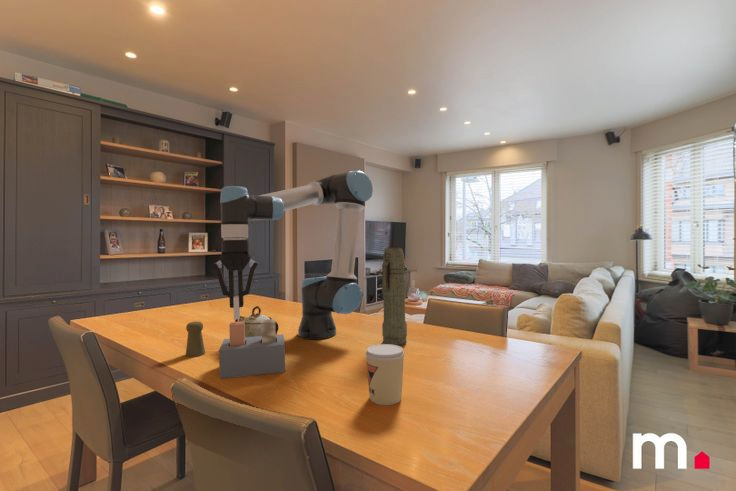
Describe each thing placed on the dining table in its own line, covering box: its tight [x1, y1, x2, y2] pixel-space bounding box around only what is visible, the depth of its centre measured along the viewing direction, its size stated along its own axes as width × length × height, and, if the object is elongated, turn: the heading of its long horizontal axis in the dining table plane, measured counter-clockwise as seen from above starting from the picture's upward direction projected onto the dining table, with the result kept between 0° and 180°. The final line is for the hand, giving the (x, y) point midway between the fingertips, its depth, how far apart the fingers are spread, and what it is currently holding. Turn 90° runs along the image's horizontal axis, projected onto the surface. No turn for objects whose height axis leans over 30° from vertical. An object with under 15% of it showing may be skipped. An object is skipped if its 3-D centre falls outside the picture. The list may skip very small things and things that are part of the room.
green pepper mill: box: [185, 321, 206, 358], centre depth 128 cm, size 6×6×11 cm
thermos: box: [381, 246, 408, 347], centre depth 138 cm, size 9×12×35 cm
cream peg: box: [261, 318, 276, 343], centre depth 114 cm, size 4×4×8 cm
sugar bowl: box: [234, 305, 279, 337], centre depth 133 cm, size 20×15×15 cm
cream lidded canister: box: [365, 343, 405, 406], centre depth 91 cm, size 9×9×12 cm
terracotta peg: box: [228, 321, 245, 346], centre depth 112 cm, size 4×4×8 cm
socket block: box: [218, 334, 286, 380], centre depth 113 cm, size 18×12×8 cm, turn 104°
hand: (237, 318), depth 112 cm, fingers closed
